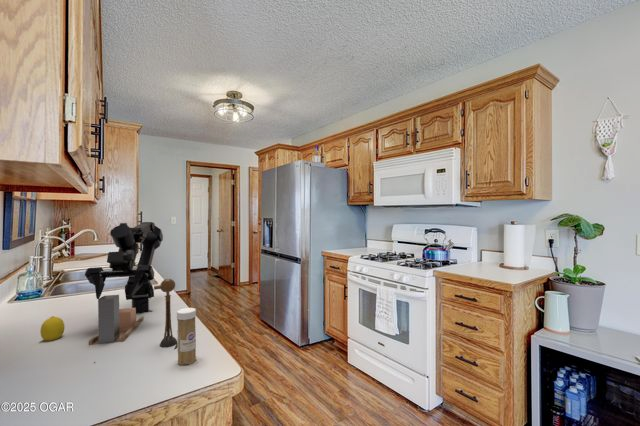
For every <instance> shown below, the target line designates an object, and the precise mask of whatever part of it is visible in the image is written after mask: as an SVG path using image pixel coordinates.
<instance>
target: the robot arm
mask: <svg viewBox="0 0 640 426" xmlns="http://www.w3.org/2000/svg"><path fill="white" fill-rule="evenodd" d="M109 235H110V236H111V239H112V240H113V243H114V245H115V247H116V248H118V251H109V252H108V253H107V258H106V263H108V264H109V266H108V267H109V268H110V269H111V270H104V269H103V267H101V266H98V267H96V266H95V267H88V268H87V269H86V270H85V272H84V277H85V278H86V279H87V280H88V282H89V284H91V285H93V286H94V289H95V298H96V299H97V300H98V299H99V298H101V297H102V293H103V291H104V287H105V284H106V283H105V282H106V279H107V278H118V277H119V278H126V277H127V278H128V280H127V282H126V284H125V286H124V294H125V300H126V301H129V300H131V308H136V314H143V313H152V312H153V310H151V309H149V307H150V306H149V305H150V304H149V301H150V300H149V299H152V298H154V297H155V290H154V285H152V284H153V283H152V282H151V281H153V280H154V278H155V270H154V268H153V266H152V263H153V259H154V254H155V251H156V250H157V249H158V248H160V246H161V243H162V242H163V240H164V236H163V235H164V234H163V232H162V229H161V228H159V227H158V226H156V224H155V222H152V221H145V222H143V221H142V222H140V223H139V224H137V225H135V226H134V227H130V226H129V225H128V223H127V222H120V223H119V224H118V225H117V226H115V227H113V228H112V229H110V233H109ZM139 243H140V244H141V246H142V249H141V253H140V256H139V260H138V262H137V263H138V264H137V267H136V269H134V267H135V266H136V259H137V254H139V247H140V246H139Z"/></svg>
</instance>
